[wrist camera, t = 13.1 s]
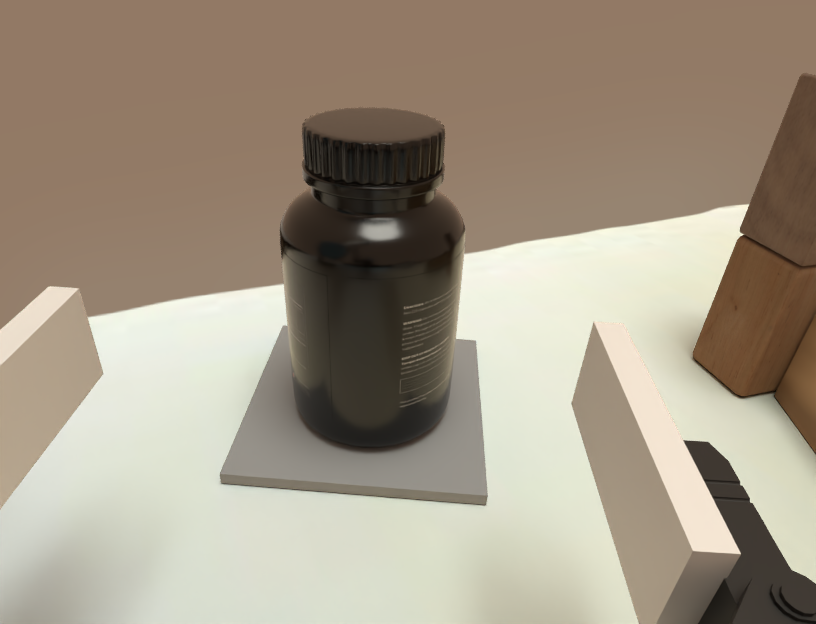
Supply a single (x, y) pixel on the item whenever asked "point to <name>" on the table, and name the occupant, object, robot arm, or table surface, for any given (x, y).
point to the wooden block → (770, 264)
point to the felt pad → (354, 466)
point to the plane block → (801, 387)
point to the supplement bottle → (372, 276)
